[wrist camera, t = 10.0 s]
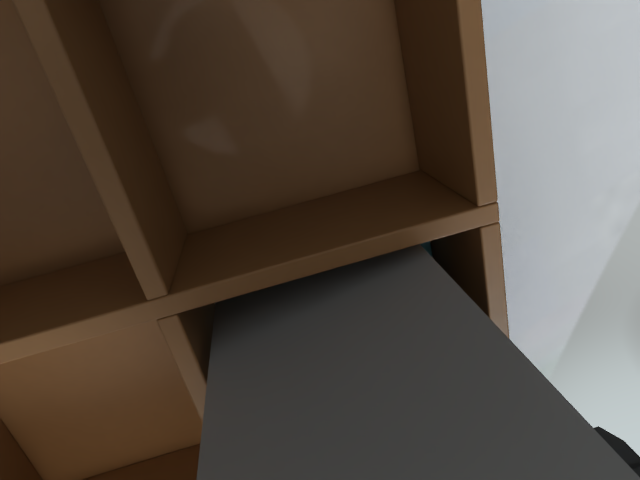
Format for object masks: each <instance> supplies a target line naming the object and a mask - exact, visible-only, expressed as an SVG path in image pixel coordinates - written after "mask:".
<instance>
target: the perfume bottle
mask: <svg viewBox="0 0 640 480" xmlns="http://www.w3.org/2000/svg"><path fill="white" fill-rule="evenodd" d="M196 480H640V477H639V476H638V475H637V474H636V473H635V472H634V471H633V470H632V469H631V468H630V467H629V465H628V464H627V463H626V462H625V461H624V460H623V459H622V458H621V457H620V456H619V455H618V454H617V453H616V452H615V451H614V450H613V448H612V447H611V446H610V445H609V444H608V443H607V442H606V441H605V440H604V439H603V438H602V437H601V436H600V435H599V434H598V433H597V432H596V430H595V429H594V428H593V427H592V426H591V425H590V424H589V423H588V422H587V421H586V420H585V419H584V418H583V417H582V416H581V415H580V414H579V413H578V411H577V410H576V409H575V408H574V407H573V406H572V405H571V404H570V403H569V402H568V401H567V400H566V399H565V398H564V397H563V396H562V394H561V393H560V392H559V391H558V390H557V389H556V388H555V387H554V386H553V385H552V384H551V383H550V382H549V381H548V380H547V379H546V377H545V376H544V375H543V374H542V373H541V372H540V371H539V370H538V369H537V368H536V367H535V366H534V365H533V364H532V363H531V362H530V361H529V359H528V358H527V357H526V356H525V355H524V354H523V353H522V352H521V351H520V350H519V349H518V348H517V347H516V346H515V345H514V344H513V343H512V341H511V340H510V339H509V338H508V337H507V336H506V335H505V334H504V333H503V332H502V331H501V330H500V329H499V328H498V327H497V326H496V324H495V323H494V322H493V321H492V320H491V319H490V318H489V317H488V316H487V315H486V314H485V313H484V312H483V311H482V310H481V309H480V308H479V306H478V305H477V304H476V303H475V302H474V301H473V300H472V299H471V298H470V297H469V296H468V295H467V294H466V293H465V292H464V291H463V290H462V288H461V287H460V286H459V285H458V284H457V283H456V282H455V281H454V280H453V279H452V278H451V277H450V276H449V275H448V274H447V273H446V272H445V270H444V269H443V268H442V267H441V266H440V265H439V264H438V263H437V262H436V261H435V260H434V259H433V258H432V257H431V256H430V255H429V253H428V252H427V251H426V250H425V249H424V248H423V247H422V246H421V245H420V244H418V245H415V246H411V247H408V248H404V249H401V250H397V251H394V252H390V253H387V254H383V255H380V256H376V257H373V258H369V259H366V260H362V261H359V262H355V263H352V264H348V265H345V266H341V267H338V268H334V269H331V270H327V271H324V272H320V273H317V274H313V275H310V276H306V277H303V278H299V279H296V280H292V281H289V282H285V283H282V284H278V285H275V286H271V287H268V288H264V289H261V290H257V291H254V292H251V293H247V294H244V295H240V296H237V297H233V298H230V299H226V300H223V301H219V302H216V304H215V313H214V322H213V332H212V341H211V350H210V359H209V368H208V378H207V387H206V396H205V405H204V415H203V424H202V433H201V442H200V451H199V461H198V470H197V479H196Z"/></svg>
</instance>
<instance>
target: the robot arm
mask: <svg viewBox="0 0 640 480" xmlns="http://www.w3.org/2000/svg"><path fill="white" fill-rule="evenodd" d="M594 429H595V430H596V432H597V433H598V434H599V435H600V436H601V437H602V438H603V439H604V440H605V441H606V442H607V443H608V444H609V445H610V446H611V447H612V448H613V450H614V451H615V452H616V453H617V454H618V455H619V456H620V457H621V458H622V459H623V460H624V461H625V462H626V463H627V464H628V465H629V467H630V468H631V469H632V470H633V471H634V472H635V473H636V474H637V475H638V476H639V477H640V457H639V456H638V455H637V454H636V453H635V452H634V451H633V450H632V449H631V448H630V447H629V446H628V445H627V444H626V443H625V442H624V441H623V440H621V439H620V438H618V437H616V436H614V435H613V434H611V433H609V432H607V431H606V430H604V429H602V428H600V427H596V428H594Z"/></svg>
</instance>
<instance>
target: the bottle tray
mask: <svg viewBox="0 0 640 480" xmlns="http://www.w3.org/2000/svg"><path fill="white" fill-rule="evenodd" d="M496 201H497V187H496V175H495V163H494V151H493V139H492V128H491V116H490V104H489V92H488V80H487V68H486V56H485V44H484V32H483V20H482V8H481V0H0V480H196V479H197V470H198V461H199V451H200V442H201V433H202V424H203V415H204V405H205V396H206V387H207V378H208V368H209V359H210V350H211V341H212V332H213V322H214V313H215V304H216V302H219V301H223V300H226V299H230V298H233V297H237V296H240V295H244V294H247V293H251V292H254V291H257V290H261V289H264V288H268V287H271V286H275V285H278V284H282V283H285V282H289V281H292V280H296V279H299V278H303V277H306V276H310V275H313V274H317V273H320V272H324V271H327V270H331V269H334V268H338V267H341V266H345V265H348V264H352V263H355V262H359V261H362V260H366V259H369V258H373V257H376V256H380V255H383V254H387V253H390V252H394V251H397V250H401V249H404V248H408V247H411V246H415V245H418V244H420V245H421V246H422V247H423V248H424V249H425V250H426V251H427V252H428V253H429V255H430V256H431V257H432V258H433V259H434V260H435V261H436V262H437V263H438V264H439V265H440V266H441V267H442V268H443V269H444V270H445V272H446V273H447V274H448V275H449V276H450V277H451V278H452V279H453V280H454V281H455V282H456V283H457V284H458V285H459V286H460V287H461V288H462V290H463V291H464V292H465V293H466V294H467V295H468V296H469V297H470V298H471V299H472V300H473V301H474V302H475V303H476V304H477V305H478V306H479V308H480V309H481V310H482V311H483V312H484V313H485V314H486V315H487V316H488V317H489V318H490V319H491V320H492V321H493V322H494V323H495V324H496V326H497V327H498V328H499V329H500V330H501V331H502V332H503V333H504V334H505V335H506V336H507V337H508V338H509V329H508V317H507V305H506V293H505V281H504V269H503V257H502V246H501V234H500V223H499V222H498V221H499V210H498V203H497V202H496Z"/></svg>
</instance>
